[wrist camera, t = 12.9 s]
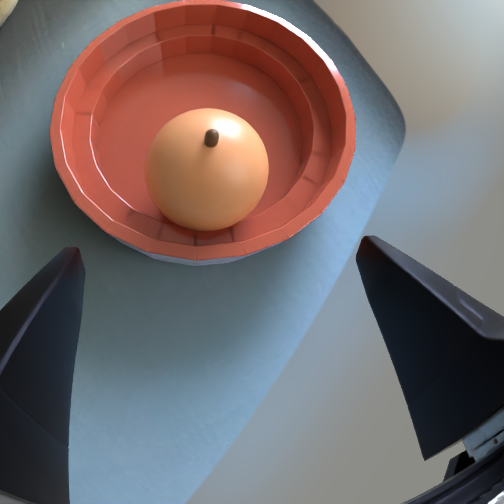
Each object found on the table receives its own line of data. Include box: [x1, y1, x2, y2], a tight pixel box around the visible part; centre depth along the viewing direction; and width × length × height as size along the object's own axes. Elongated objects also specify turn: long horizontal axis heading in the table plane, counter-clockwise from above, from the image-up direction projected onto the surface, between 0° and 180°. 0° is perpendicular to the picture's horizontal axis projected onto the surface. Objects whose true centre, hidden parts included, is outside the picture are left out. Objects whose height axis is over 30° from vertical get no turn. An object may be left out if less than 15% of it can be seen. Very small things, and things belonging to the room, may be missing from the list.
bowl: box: [50, 0, 356, 266], centre depth 18 cm, size 18×18×5 cm
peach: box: [145, 108, 269, 231], centre depth 16 cm, size 6×6×8 cm
